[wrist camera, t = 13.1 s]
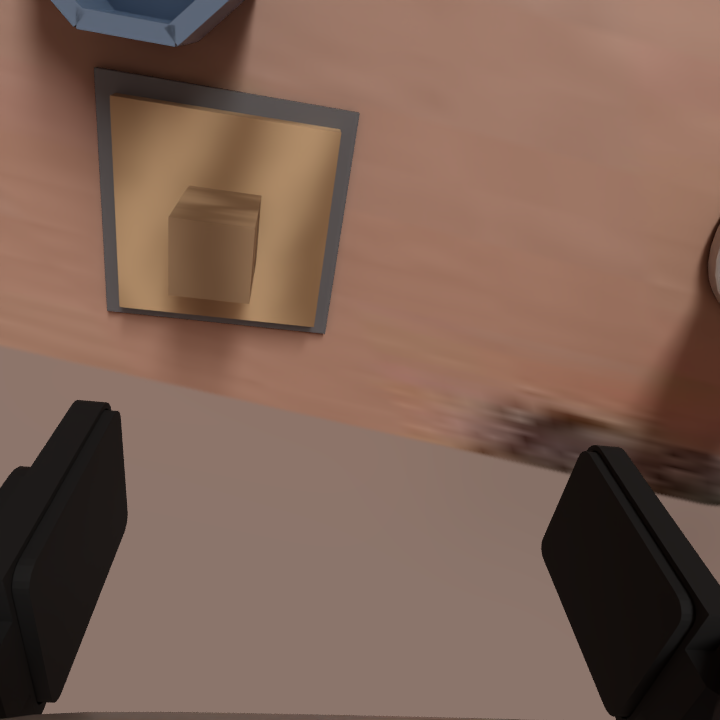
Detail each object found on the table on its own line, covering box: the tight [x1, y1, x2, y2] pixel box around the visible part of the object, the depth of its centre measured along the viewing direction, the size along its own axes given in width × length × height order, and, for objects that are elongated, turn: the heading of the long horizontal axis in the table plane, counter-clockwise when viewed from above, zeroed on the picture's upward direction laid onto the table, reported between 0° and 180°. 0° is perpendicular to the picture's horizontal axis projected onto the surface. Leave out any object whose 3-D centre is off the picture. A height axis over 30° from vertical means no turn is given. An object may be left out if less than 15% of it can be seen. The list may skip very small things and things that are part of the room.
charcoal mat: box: [94, 67, 359, 334], centre depth 34 cm, size 14×14×1 cm
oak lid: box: [110, 93, 341, 327], centre depth 31 cm, size 12×12×7 cm
